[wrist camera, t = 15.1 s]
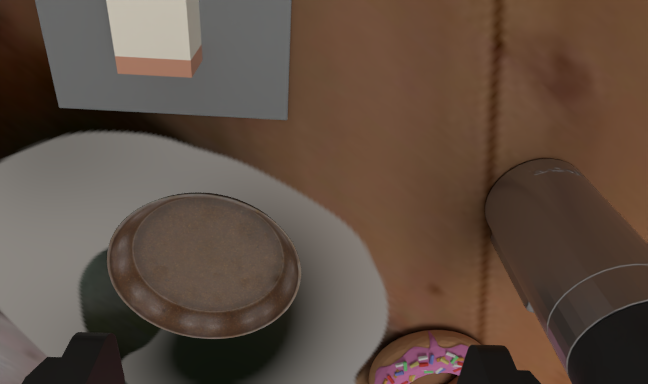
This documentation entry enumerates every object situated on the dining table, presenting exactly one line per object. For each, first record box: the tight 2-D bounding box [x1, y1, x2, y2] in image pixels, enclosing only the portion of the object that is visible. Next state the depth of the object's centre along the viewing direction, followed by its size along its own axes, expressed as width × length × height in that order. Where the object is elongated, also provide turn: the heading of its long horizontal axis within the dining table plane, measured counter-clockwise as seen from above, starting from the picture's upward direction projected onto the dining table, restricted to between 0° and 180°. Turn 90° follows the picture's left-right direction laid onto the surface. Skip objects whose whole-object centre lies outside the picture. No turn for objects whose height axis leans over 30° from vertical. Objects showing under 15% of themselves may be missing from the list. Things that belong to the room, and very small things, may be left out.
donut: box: [369, 330, 481, 384], centre depth 55 cm, size 14×14×5 cm
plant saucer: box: [107, 193, 301, 339], centre depth 47 cm, size 18×18×3 cm
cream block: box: [106, 0, 203, 78], centre depth 33 cm, size 5×9×4 cm, turn 176°
